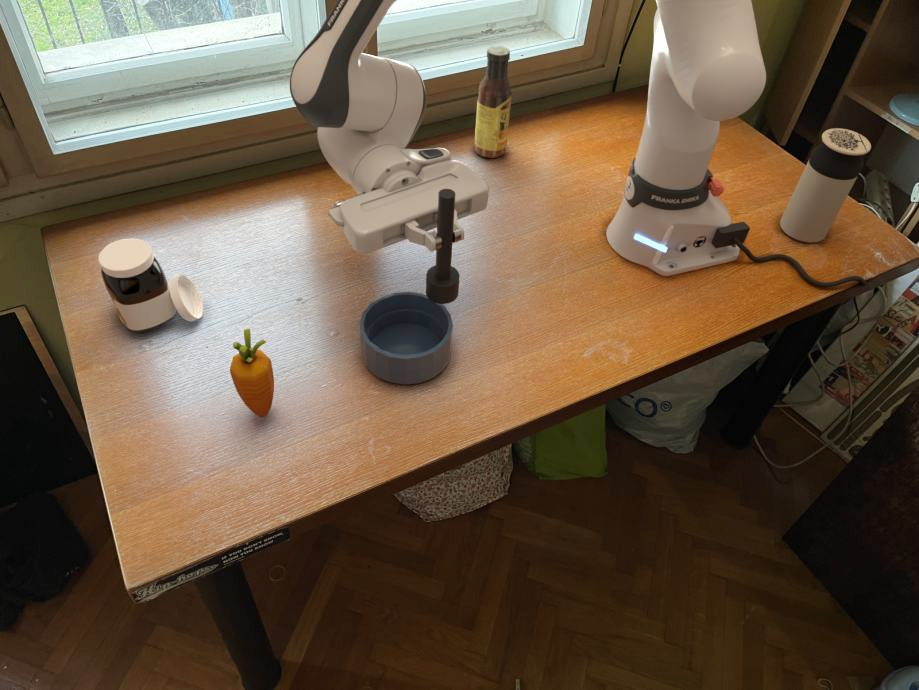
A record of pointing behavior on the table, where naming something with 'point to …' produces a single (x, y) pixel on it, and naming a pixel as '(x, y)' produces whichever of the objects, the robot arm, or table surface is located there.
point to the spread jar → (145, 287)
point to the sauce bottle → (493, 105)
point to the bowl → (406, 337)
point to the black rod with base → (444, 254)
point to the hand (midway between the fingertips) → (448, 241)
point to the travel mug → (824, 184)
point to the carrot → (253, 376)
